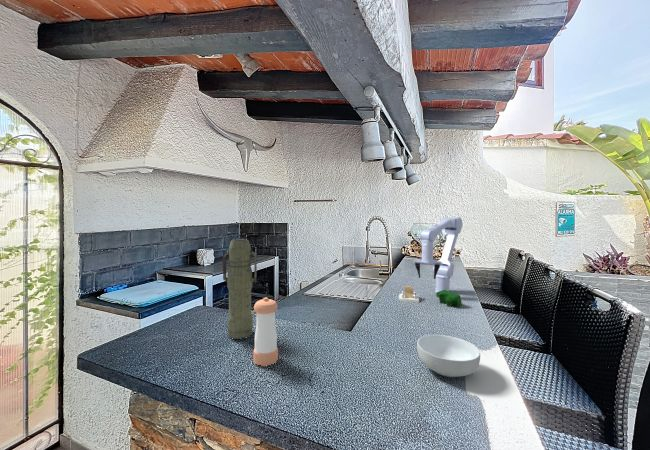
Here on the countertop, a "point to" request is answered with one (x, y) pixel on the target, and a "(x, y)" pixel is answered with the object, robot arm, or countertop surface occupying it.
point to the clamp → (449, 298)
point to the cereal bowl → (448, 355)
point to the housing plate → (414, 299)
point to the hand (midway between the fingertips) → (426, 278)
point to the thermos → (239, 288)
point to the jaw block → (408, 292)
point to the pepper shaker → (265, 333)
